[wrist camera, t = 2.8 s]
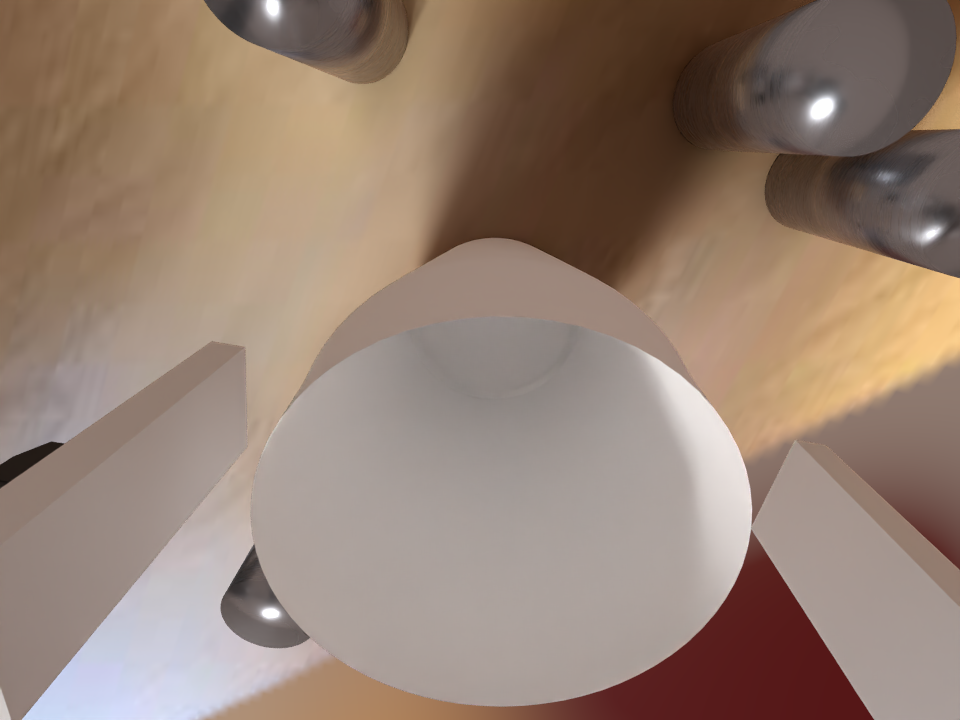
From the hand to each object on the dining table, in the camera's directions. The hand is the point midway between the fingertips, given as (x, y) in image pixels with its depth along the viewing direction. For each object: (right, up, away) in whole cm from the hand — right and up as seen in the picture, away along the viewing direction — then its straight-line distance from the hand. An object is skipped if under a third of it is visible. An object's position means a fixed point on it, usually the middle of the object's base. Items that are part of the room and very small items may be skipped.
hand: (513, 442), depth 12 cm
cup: (0, +4, +8) cm, 9 cm away
